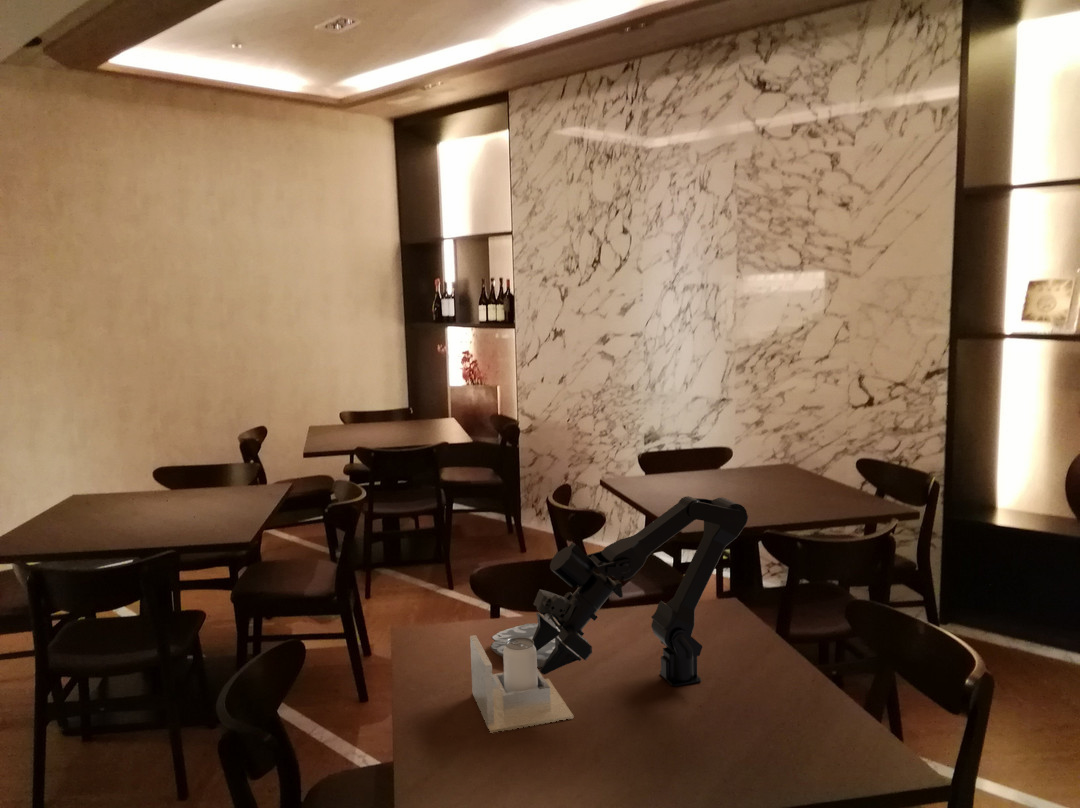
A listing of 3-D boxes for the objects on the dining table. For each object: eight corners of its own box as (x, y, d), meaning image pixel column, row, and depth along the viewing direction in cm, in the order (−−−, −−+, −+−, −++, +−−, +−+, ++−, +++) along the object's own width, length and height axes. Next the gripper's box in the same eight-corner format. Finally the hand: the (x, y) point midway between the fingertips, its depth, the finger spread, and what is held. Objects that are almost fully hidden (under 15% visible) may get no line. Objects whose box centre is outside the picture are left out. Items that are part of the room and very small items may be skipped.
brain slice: (495, 635, 190) (494, 623, 189) (567, 635, 189) (566, 622, 188) (486, 673, 170) (486, 660, 170) (566, 672, 169) (565, 659, 169)
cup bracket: (548, 681, 165) (546, 622, 164) (573, 718, 150) (571, 654, 148) (471, 693, 161) (469, 634, 159) (489, 733, 145) (486, 668, 144)
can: (520, 713, 151) (518, 653, 150) (498, 702, 156) (495, 643, 154) (545, 701, 155) (543, 642, 154) (523, 690, 160) (520, 633, 159)
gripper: (544, 561, 163) (494, 621, 162) (573, 592, 146) (517, 659, 144) (581, 593, 167) (533, 652, 165) (615, 627, 149) (561, 693, 147)
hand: (535, 662), depth 155 cm, fingers open, 9 cm apart
